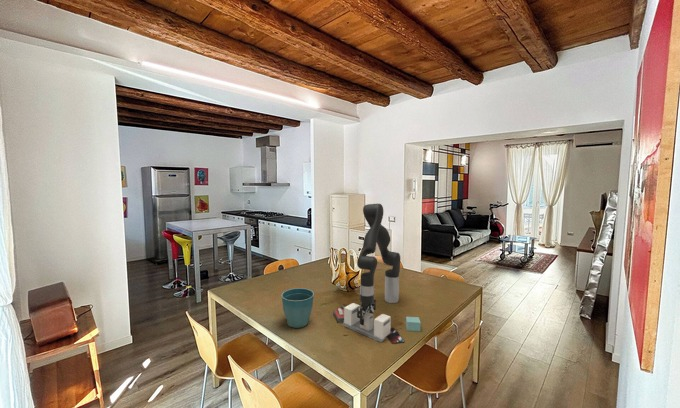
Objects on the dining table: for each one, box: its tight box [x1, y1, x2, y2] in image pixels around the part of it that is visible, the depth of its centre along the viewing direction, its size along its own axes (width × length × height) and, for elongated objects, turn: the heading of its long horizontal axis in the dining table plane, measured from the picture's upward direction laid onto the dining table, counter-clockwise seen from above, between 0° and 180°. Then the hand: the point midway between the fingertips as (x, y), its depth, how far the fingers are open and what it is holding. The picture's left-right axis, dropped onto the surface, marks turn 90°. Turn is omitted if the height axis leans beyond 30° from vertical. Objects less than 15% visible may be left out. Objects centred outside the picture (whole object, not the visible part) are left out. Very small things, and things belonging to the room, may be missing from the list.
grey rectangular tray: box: [342, 320, 391, 343], centre depth 155 cm, size 10×25×2 cm, turn 50°
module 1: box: [344, 302, 361, 325], centre depth 161 cm, size 8×5×9 cm, turn 140°
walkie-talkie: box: [333, 304, 345, 324], centre depth 172 cm, size 9×4×20 cm
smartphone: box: [386, 327, 406, 345], centre depth 150 cm, size 7×1×15 cm
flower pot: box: [281, 287, 315, 329], centre depth 162 cm, size 18×18×17 cm
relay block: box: [405, 316, 422, 332], centre depth 157 cm, size 5×6×7 cm
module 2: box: [373, 313, 392, 339], centre depth 148 cm, size 8×5×9 cm, turn 140°
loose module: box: [360, 311, 374, 331], centre depth 155 cm, size 4×6×8 cm
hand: (366, 321), depth 155 cm, fingers open, 8 cm apart
